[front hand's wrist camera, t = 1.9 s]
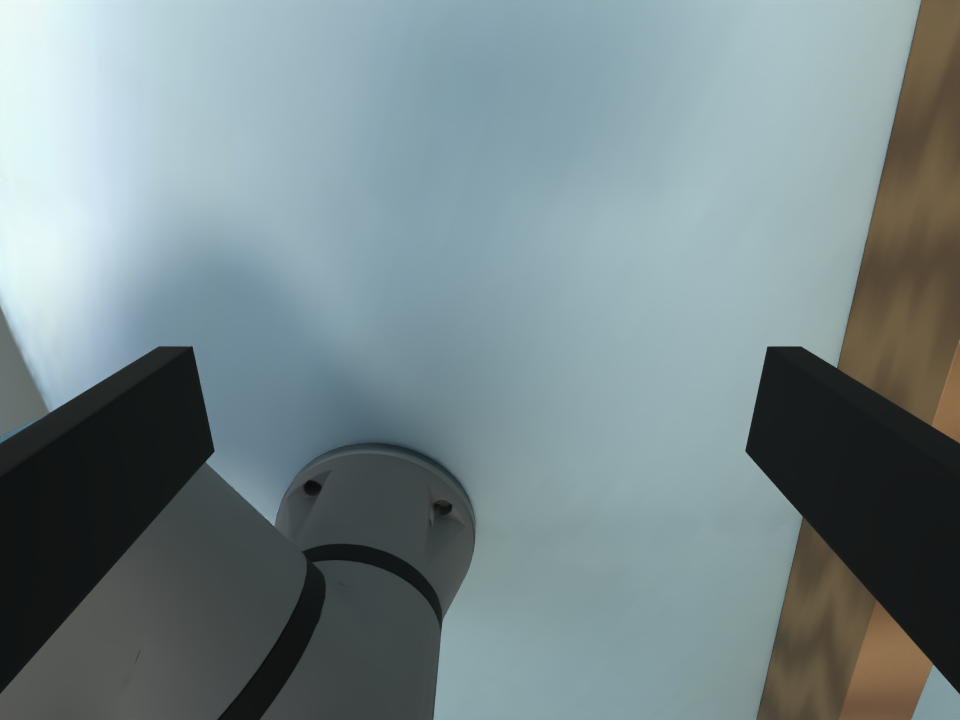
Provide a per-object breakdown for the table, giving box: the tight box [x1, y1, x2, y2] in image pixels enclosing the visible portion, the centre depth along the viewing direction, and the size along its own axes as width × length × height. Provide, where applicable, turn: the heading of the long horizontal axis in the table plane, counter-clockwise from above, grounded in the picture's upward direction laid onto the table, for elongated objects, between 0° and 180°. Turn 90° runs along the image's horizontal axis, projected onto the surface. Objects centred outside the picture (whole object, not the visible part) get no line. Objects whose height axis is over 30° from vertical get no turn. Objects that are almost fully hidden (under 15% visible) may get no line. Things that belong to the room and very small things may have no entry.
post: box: [757, 0, 960, 720], centre depth 37 cm, size 76×5×8 cm, turn 3°
